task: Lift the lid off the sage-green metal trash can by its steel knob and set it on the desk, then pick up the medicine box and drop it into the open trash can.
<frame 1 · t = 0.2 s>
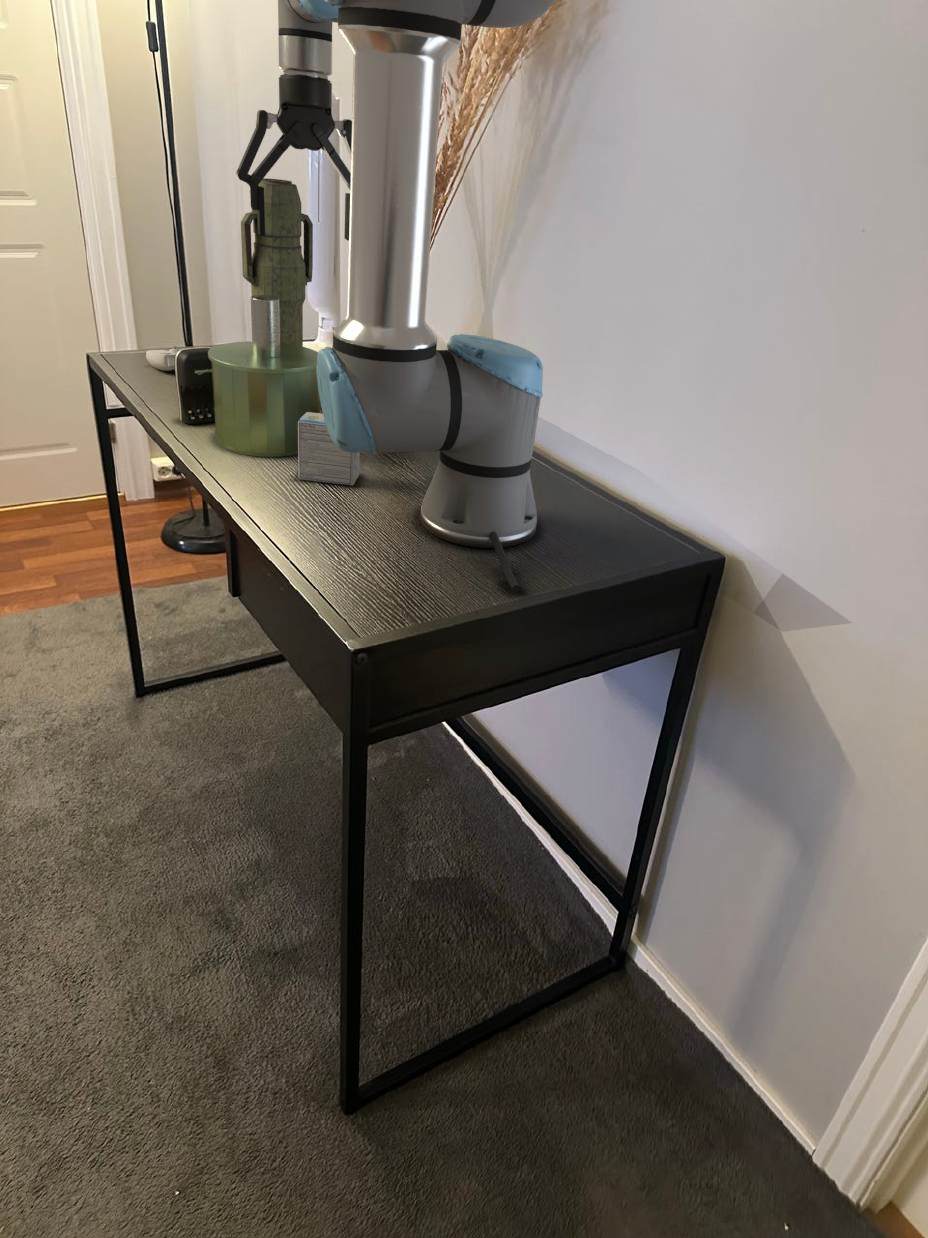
hand: (305, 237, 130), 28 cm above the table, tool pointing down, fingers open, 13 cm apart
thermos: (280, 402, 148), on the table
medicine box: (329, 479, 118), on the table
bin lid: (266, 358, 124), point 12 cm above the table, touching trash can
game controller: (188, 369, 160), on the table
battery charger: (203, 422, 134), on the table
trash can: (268, 439, 130), on the table
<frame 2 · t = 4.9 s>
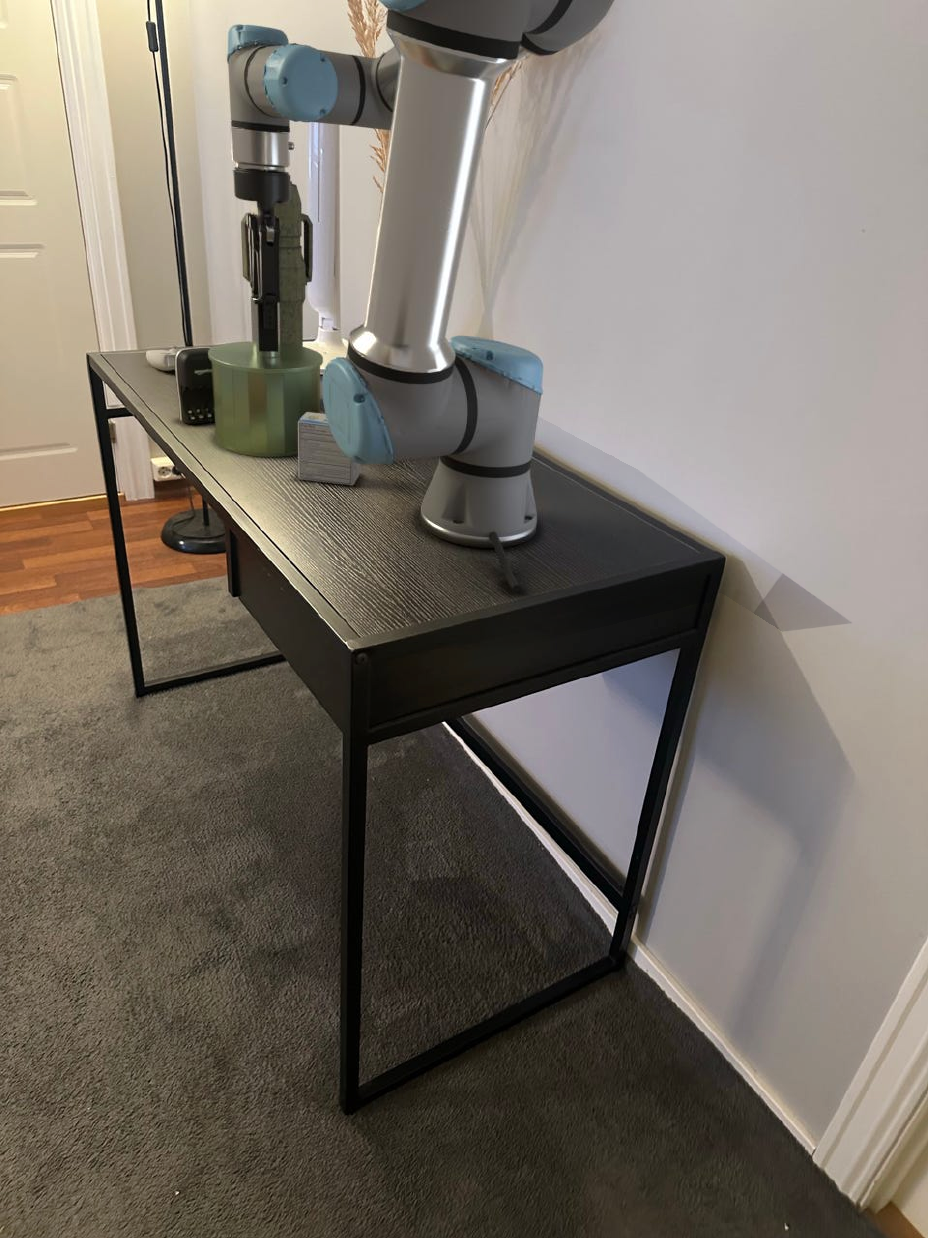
hand: (266, 346, 123), 14 cm above the table, tool pointing down, fingers closed on bin lid, 4 cm apart
bin lid: (266, 358, 124), point 13 cm above the table, touching gripper
everything else where it was.
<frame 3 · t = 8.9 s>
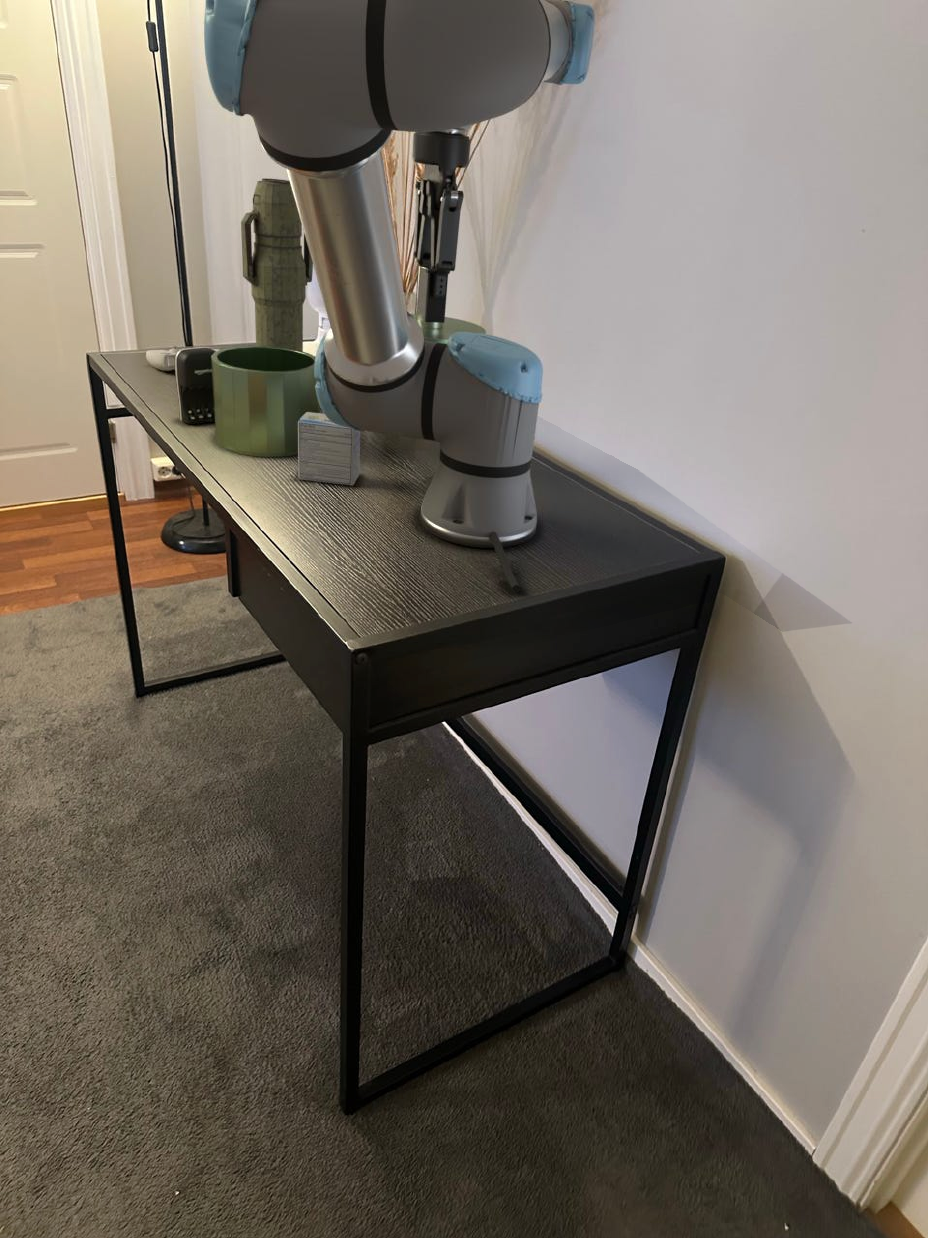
hand: (429, 317, 120), 21 cm above the table, tool pointing down, fingers closed on bin lid, 4 cm apart
bin lid: (428, 330, 121), point 19 cm above the table, touching gripper
everything else where it was.
when the fingers open (2 cm above the table, at t = 12.9 s): bin lid stays where it is, point 1 cm above the table.
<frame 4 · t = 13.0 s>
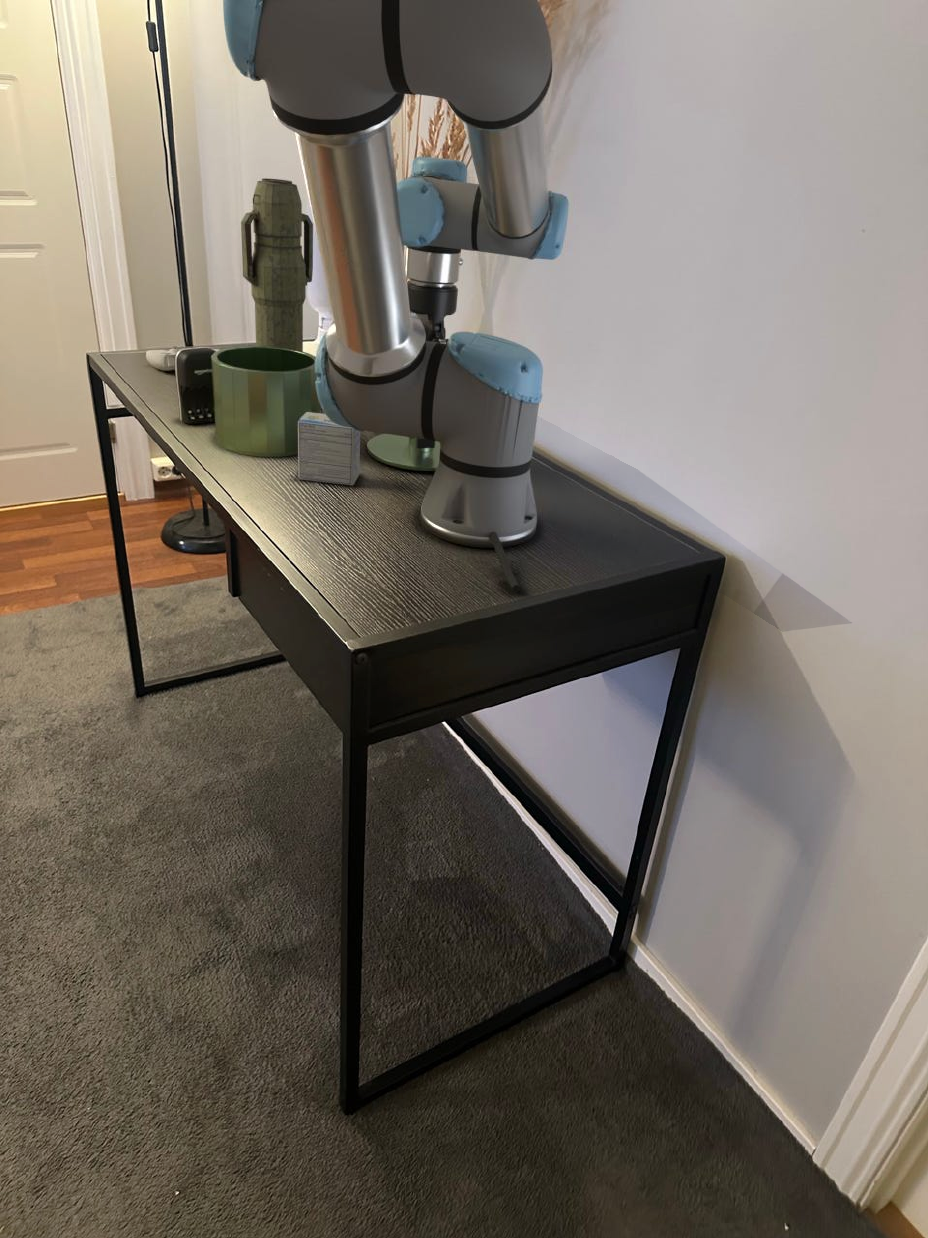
hand: (420, 441, 129), 2 cm above the table, tool pointing down, fingers open, 4 cm apart
bin lid: (420, 451, 130), point 1 cm above the table
everything else where it was.
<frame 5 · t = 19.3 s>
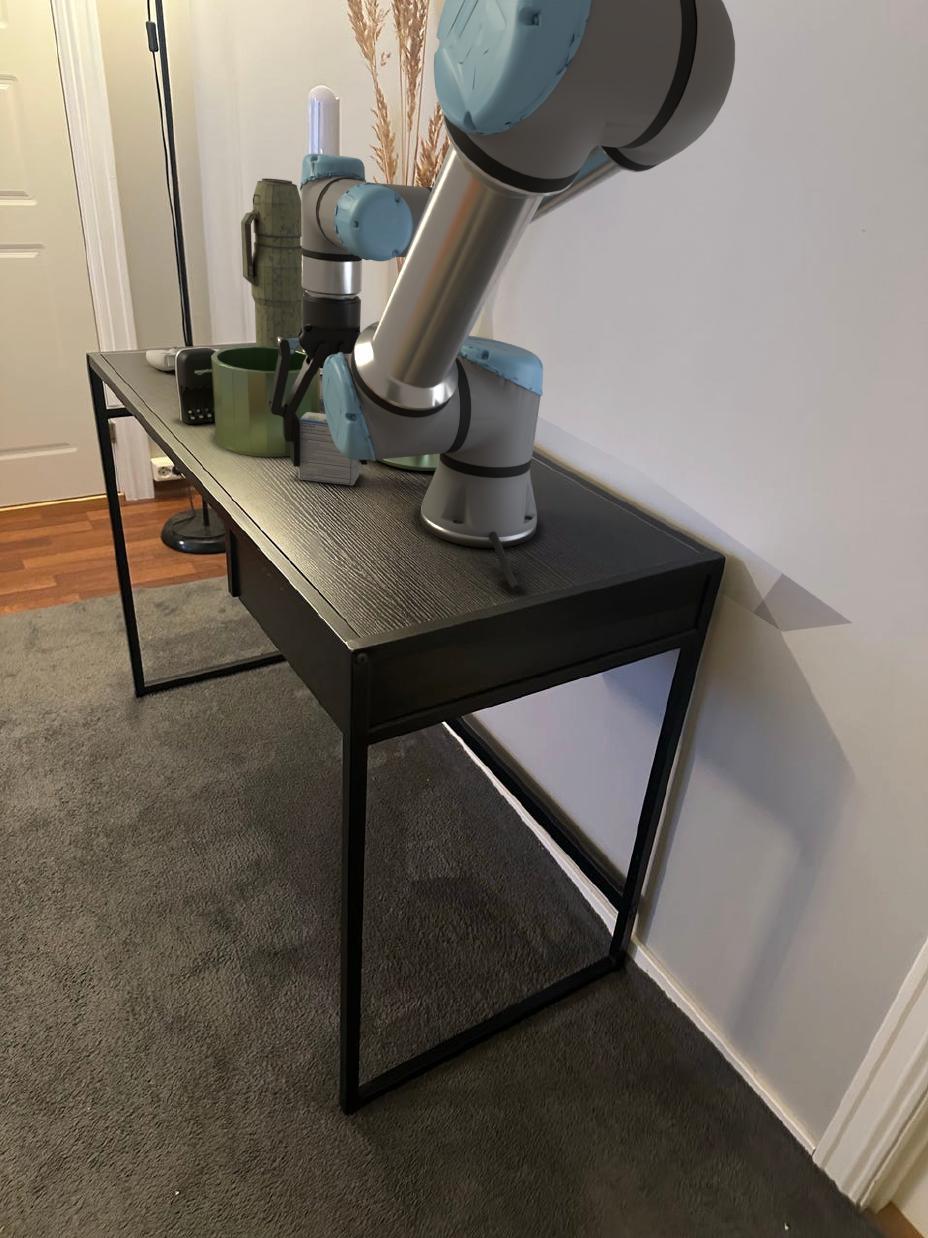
hand: (329, 462, 117), 2 cm above the table, tool pointing down, fingers closed on medicine box, 9 cm apart
medicine box: (329, 479, 118), on the table, touching gripper
everything else where it was.
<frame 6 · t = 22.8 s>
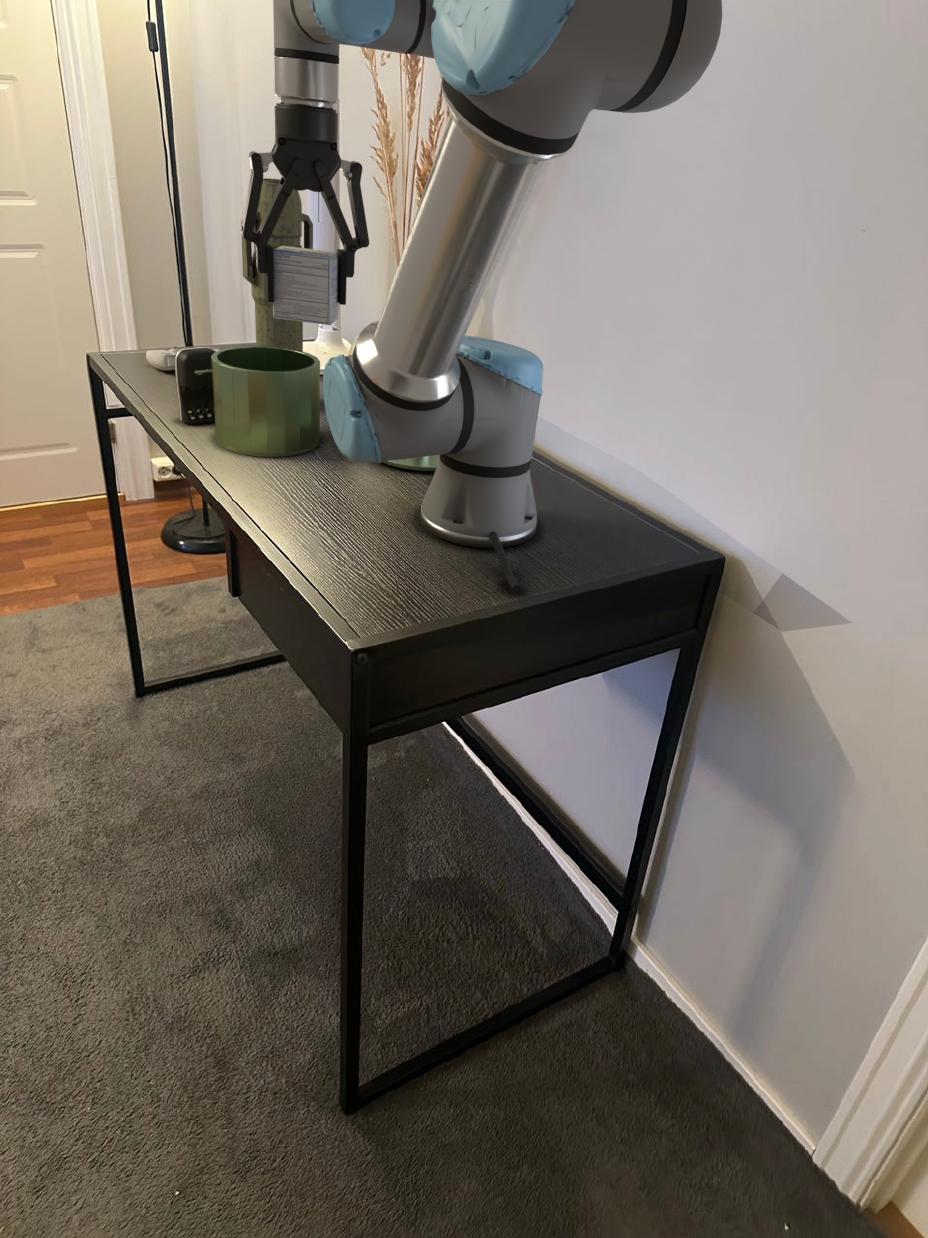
hand: (305, 300, 111), 23 cm above the table, tool pointing down, fingers closed on medicine box, 9 cm apart
medicine box: (306, 321, 112), point 20 cm above the table, touching gripper
everything else where it was.
when the fingers open (13 cm above the table, at t = 26.6 s): medicine box drops 10 cm, resting on trash can.
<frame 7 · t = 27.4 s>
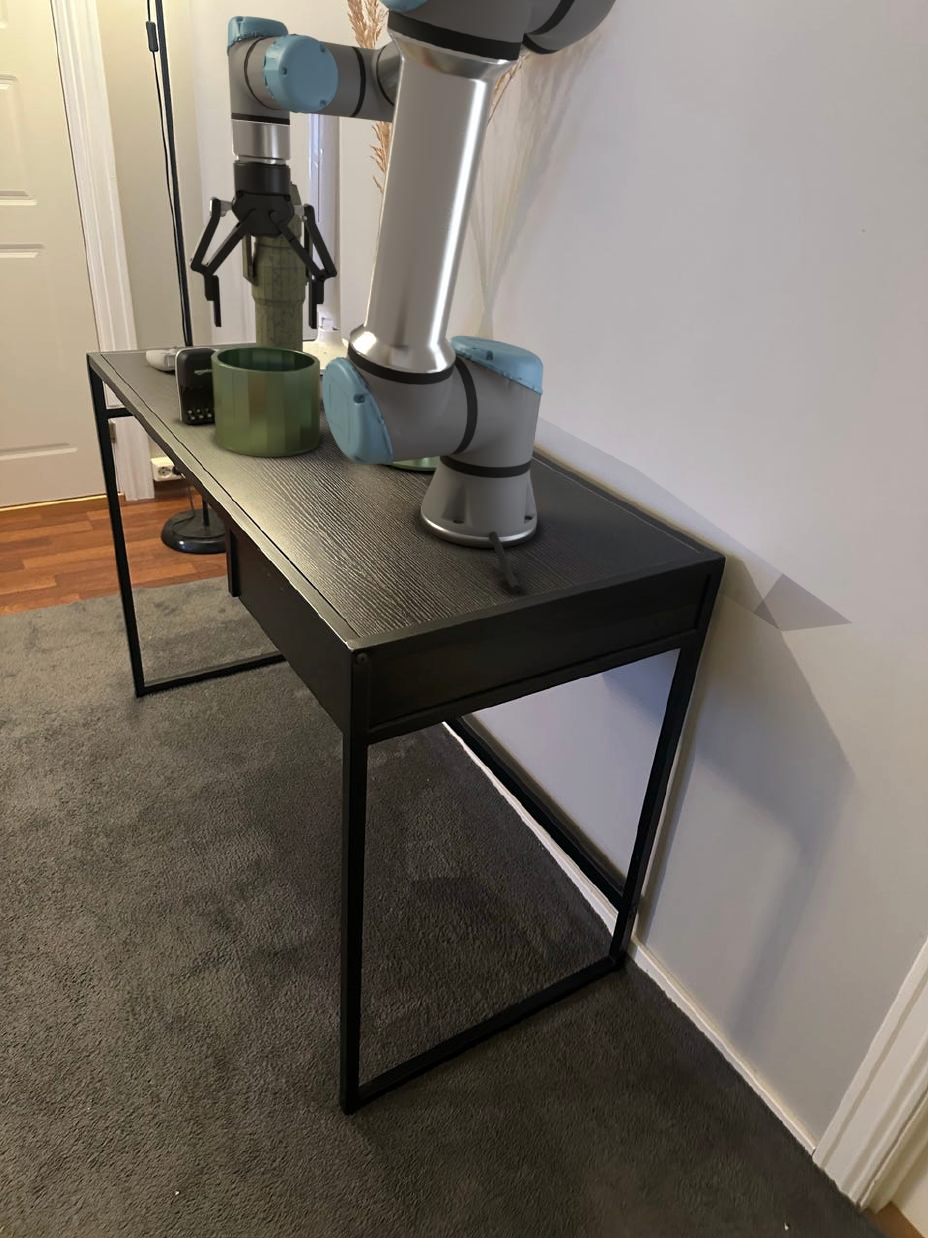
hand: (266, 326, 121), 17 cm above the table, tool pointing down, fingers open, 13 cm apart
medicine box: (264, 438, 129), resting on trash can
everything else where it was.
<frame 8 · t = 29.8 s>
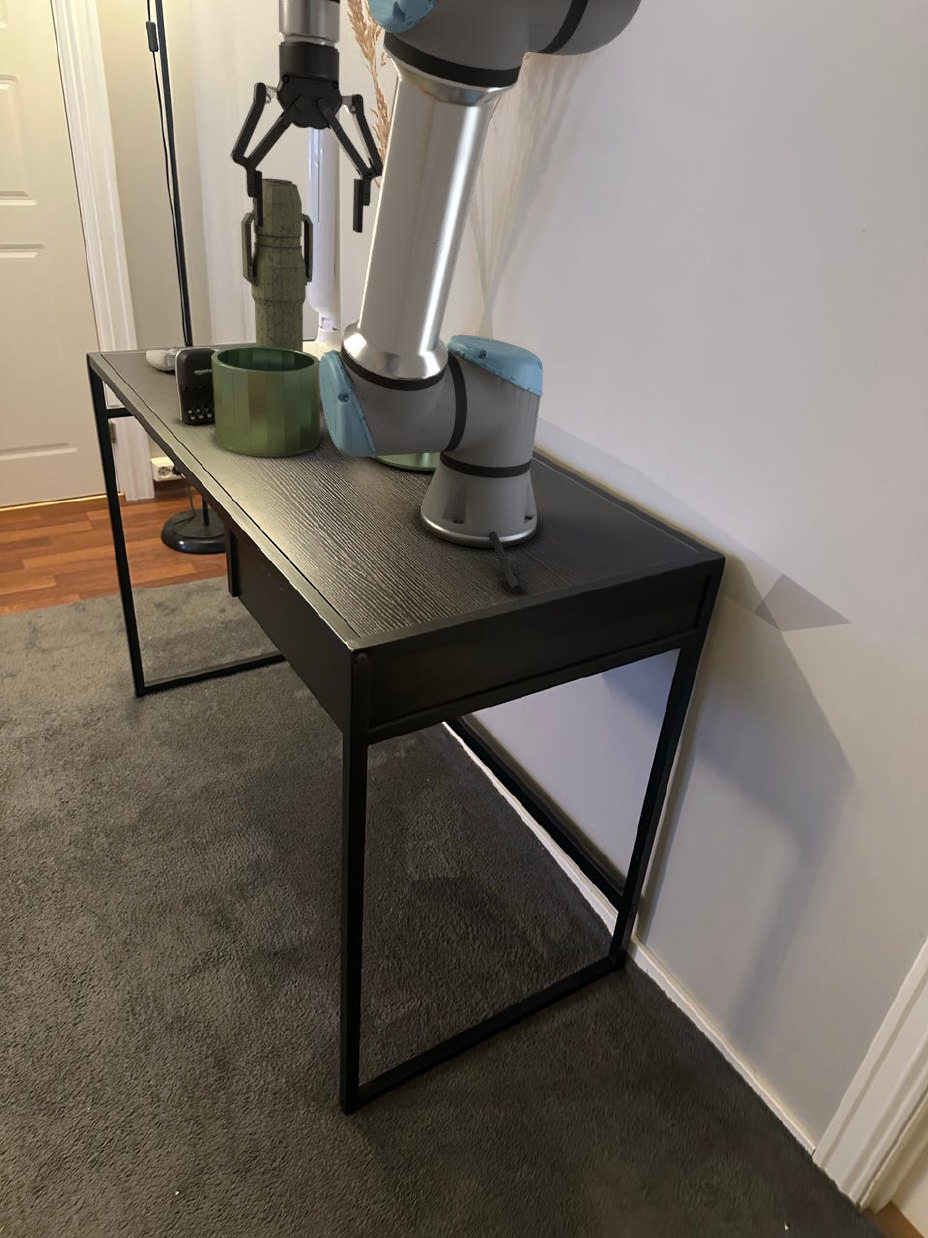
hand: (309, 228, 115), 31 cm above the table, tool pointing down, fingers open, 13 cm apart
nothing on the table moved.
at the end: medicine box inside the target area in the trash can (0.7 cm from its centre), point 0.3 cm above the trash can's base; bin lid inside the target area (0.1 cm from its centre), point 0.6 cm above the table; bin lid tilted 0° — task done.
